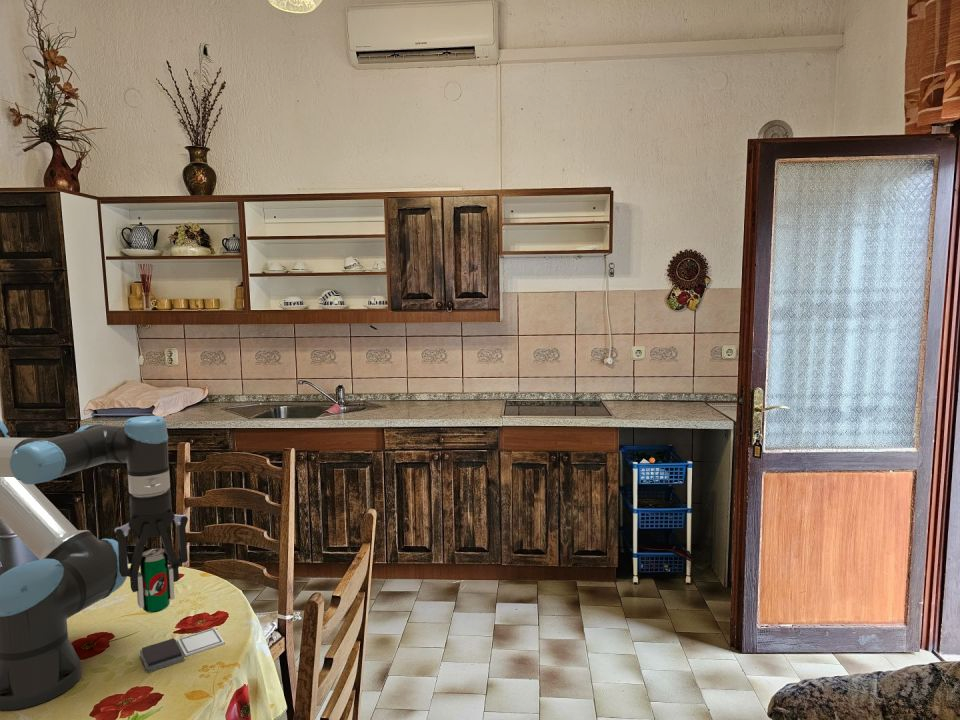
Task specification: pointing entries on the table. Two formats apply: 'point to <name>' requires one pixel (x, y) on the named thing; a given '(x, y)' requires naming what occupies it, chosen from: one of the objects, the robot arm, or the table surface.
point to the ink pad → (161, 655)
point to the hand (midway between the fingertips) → (156, 600)
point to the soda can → (155, 580)
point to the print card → (200, 641)
